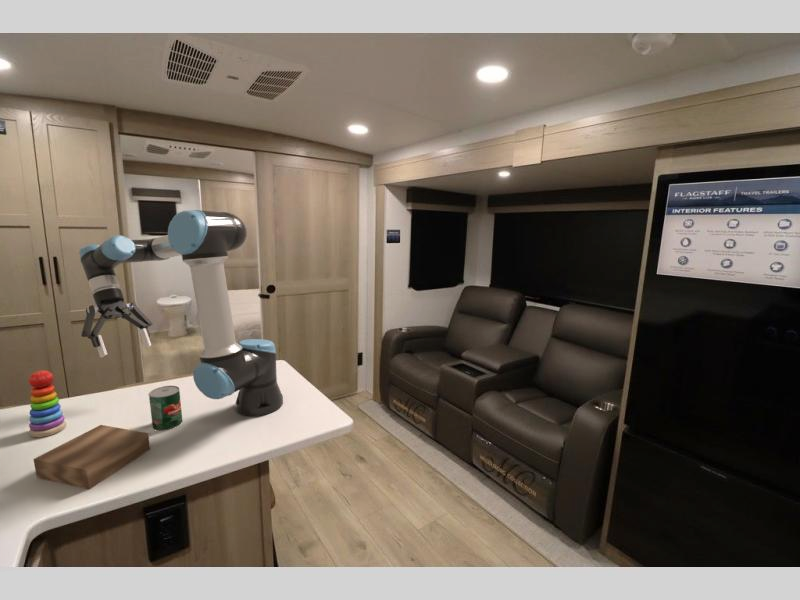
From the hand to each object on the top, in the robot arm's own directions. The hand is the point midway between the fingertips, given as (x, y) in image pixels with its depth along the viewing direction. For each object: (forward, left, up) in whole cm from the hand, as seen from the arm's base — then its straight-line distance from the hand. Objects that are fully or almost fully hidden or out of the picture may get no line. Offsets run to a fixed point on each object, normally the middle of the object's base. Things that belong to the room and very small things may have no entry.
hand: (127, 351), depth 120 cm
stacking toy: (+10, +19, -20) cm, 29 cm away
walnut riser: (-18, +27, -19) cm, 38 cm away
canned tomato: (-20, +7, -20) cm, 29 cm away
